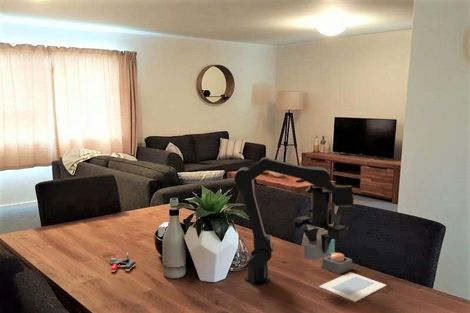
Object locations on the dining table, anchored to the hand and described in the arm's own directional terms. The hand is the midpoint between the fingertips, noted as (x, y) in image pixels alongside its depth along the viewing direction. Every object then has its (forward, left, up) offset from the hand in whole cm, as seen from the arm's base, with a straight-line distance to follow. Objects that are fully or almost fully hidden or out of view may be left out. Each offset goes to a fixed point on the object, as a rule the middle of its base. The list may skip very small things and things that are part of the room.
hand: (319, 251), depth 145 cm
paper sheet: (+7, -9, -11) cm, 16 cm away
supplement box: (-24, +55, -12) cm, 61 cm away
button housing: (+16, +4, -11) cm, 20 cm away
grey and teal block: (0, 0, -1) cm, 1 cm away
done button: (+16, +4, -9) cm, 19 cm away
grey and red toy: (-46, +57, -12) cm, 74 cm away
